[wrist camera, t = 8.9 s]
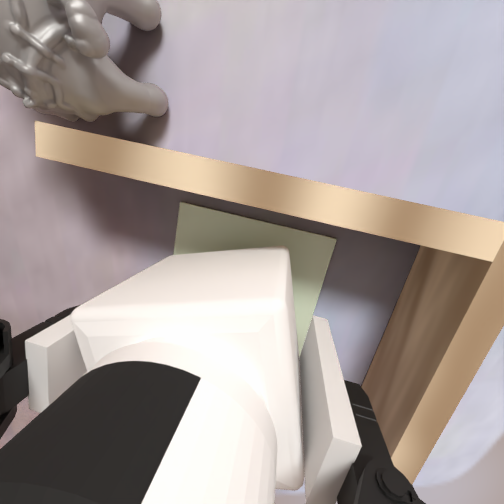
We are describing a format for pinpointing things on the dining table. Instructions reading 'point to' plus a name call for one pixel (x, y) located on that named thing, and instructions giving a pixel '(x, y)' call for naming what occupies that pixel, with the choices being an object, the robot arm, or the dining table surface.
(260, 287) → the medicine bottle
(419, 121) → the dining table surface
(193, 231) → the pad
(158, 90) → the elephant statuette
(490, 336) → the corner arena
